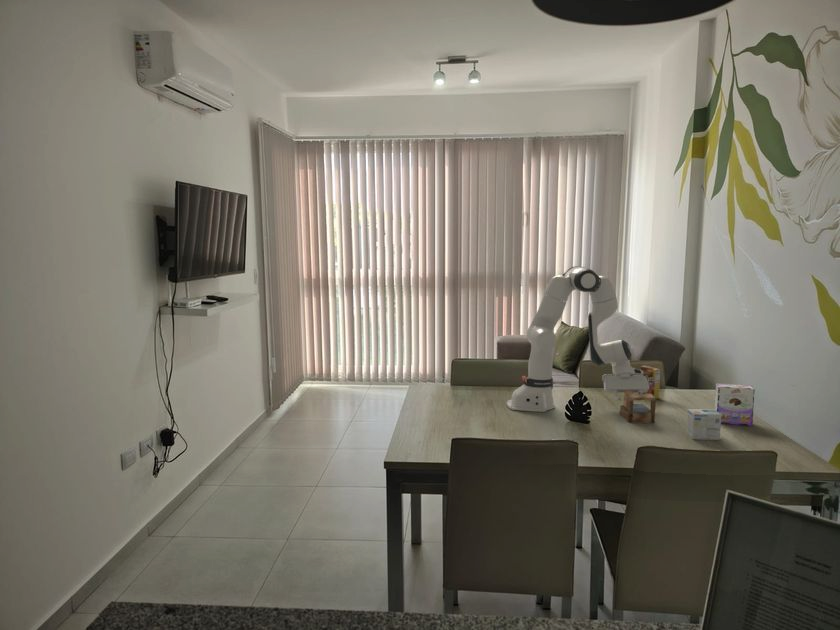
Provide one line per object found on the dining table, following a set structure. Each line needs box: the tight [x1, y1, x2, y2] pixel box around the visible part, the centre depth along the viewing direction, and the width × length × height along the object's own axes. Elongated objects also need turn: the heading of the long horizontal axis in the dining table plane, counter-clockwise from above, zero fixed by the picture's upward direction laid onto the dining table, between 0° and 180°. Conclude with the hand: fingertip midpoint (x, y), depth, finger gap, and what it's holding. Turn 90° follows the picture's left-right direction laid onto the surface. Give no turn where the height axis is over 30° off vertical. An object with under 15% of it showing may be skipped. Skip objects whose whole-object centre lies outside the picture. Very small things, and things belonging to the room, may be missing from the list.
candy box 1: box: [640, 365, 661, 400], centre depth 271 cm, size 9×4×15 cm, turn 28°
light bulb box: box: [686, 408, 722, 441], centre depth 215 cm, size 11×7×11 cm, turn 84°
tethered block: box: [623, 391, 649, 413], centre depth 243 cm, size 6×17×9 cm, turn 178°
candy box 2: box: [714, 383, 756, 427], centre depth 232 cm, size 14×6×16 cm, turn 71°
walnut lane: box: [619, 393, 657, 424], centre depth 239 cm, size 11×12×11 cm
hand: (629, 399), depth 250 cm, fingers open, 8 cm apart
